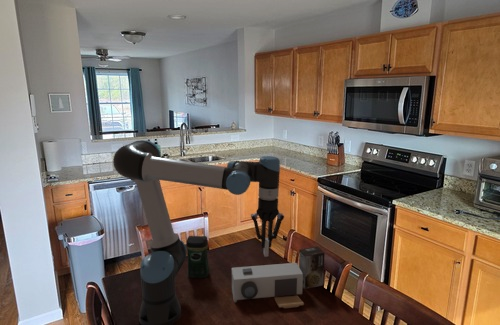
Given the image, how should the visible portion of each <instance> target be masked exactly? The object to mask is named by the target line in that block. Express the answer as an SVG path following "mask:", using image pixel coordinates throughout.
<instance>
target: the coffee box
mask: <svg viewBox="0 0 500 325" xmlns="http://www.w3.org/2000/svg"><path fill="white" fill-rule="evenodd" d="M298 254H299V256H298V266H299V268H300V270H301V271H302V273H303V286H302V288H303V289H305V290H306V289H311V288H317V287H321V286H324V285H325V284H324V279H325V278H324V277H325V252H324V251H323V250H322V249H321V247H319V246H318V245H317V246H312V247H307V248H300V249H299V252H298Z"/></svg>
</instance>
